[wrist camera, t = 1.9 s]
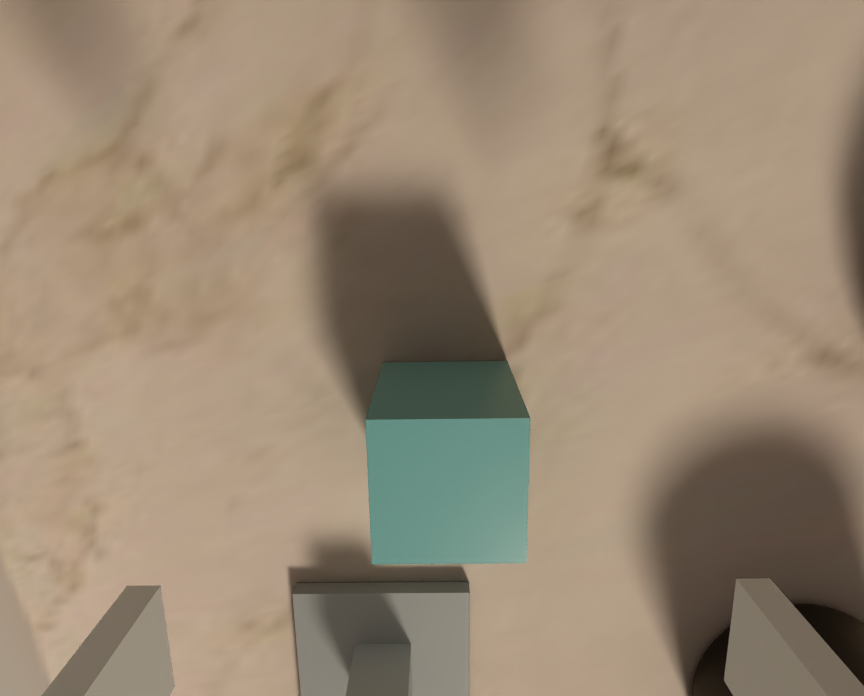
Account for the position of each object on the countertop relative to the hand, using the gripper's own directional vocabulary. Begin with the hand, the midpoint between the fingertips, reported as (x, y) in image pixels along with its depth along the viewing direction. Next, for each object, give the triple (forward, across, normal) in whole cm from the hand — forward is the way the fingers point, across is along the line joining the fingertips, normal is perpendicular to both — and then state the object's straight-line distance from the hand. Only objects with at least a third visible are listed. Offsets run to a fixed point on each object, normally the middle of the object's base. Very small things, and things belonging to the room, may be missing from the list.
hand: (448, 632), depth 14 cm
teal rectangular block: (+13, 0, 0) cm, 13 cm away
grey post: (+13, -3, -12) cm, 18 cm away
